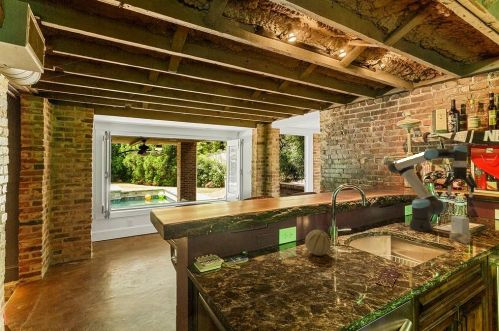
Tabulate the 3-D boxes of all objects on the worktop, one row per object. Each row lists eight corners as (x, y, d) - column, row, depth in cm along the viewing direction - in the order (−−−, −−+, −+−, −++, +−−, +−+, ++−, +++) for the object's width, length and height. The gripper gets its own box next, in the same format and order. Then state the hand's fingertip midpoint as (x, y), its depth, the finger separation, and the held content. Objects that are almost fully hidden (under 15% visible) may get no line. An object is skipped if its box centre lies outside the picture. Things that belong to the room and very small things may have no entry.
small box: (469, 233, 167) (469, 218, 166) (462, 234, 166) (462, 218, 165) (457, 230, 174) (458, 215, 174) (450, 230, 174) (451, 215, 173)
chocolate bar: (374, 285, 114) (374, 280, 114) (383, 270, 129) (383, 266, 129) (392, 290, 110) (392, 285, 110) (399, 274, 124) (399, 270, 124)
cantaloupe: (303, 249, 157) (303, 226, 156) (327, 249, 156) (327, 226, 155) (307, 259, 142) (307, 233, 141) (333, 259, 141) (333, 233, 141)
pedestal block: (449, 240, 171) (449, 231, 171) (454, 238, 176) (454, 229, 176) (466, 244, 164) (466, 235, 164) (470, 241, 169) (470, 232, 169)
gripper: (438, 166, 191) (438, 193, 192) (478, 167, 168) (477, 198, 169) (444, 166, 194) (444, 193, 195) (484, 167, 171) (483, 197, 172)
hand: (459, 195), depth 182 cm, fingers open, 13 cm apart
